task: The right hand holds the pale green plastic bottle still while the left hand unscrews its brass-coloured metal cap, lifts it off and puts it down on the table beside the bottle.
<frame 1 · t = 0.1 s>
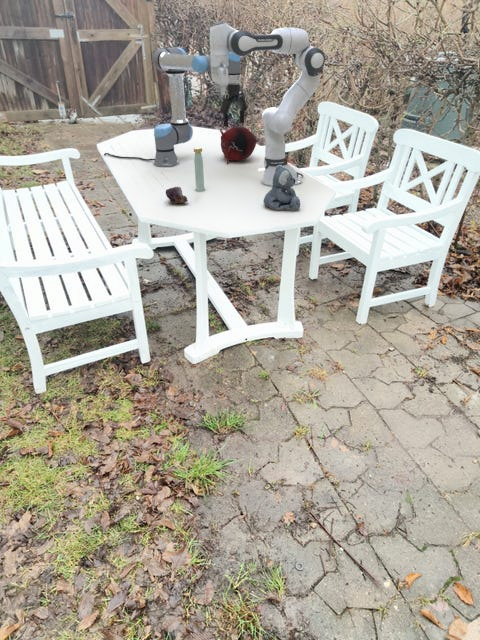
left hand: (234, 124, 259), 28 cm above the table, tool pointing down, fingers open, 13 cm apart
right hand: (220, 93, 227), 48 cm above the table, tool pointing down, fingers open, 8 cm apart
bottle: (200, 189, 251), on the table
rock: (176, 202, 234), on the table
cap: (197, 148, 238), point 22 cm above the table, screwed on, not yet turned
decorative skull: (237, 159, 303), on the table
koala plush: (280, 206, 229), on the table
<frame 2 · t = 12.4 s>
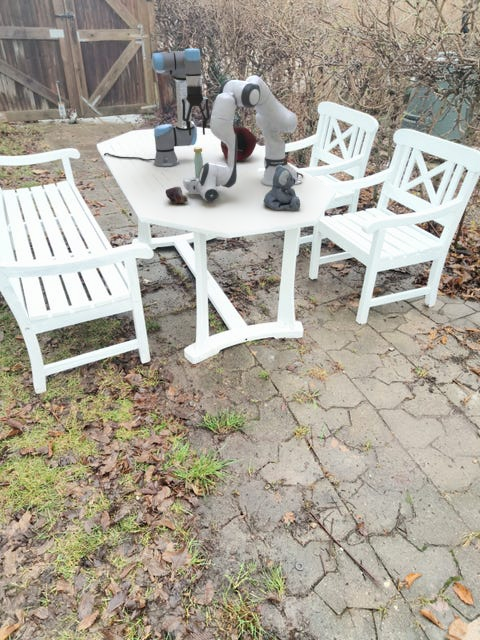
left hand: (197, 134, 234), 29 cm above the table, tool pointing down, fingers open, 6 cm apart
right hand: (199, 178, 248), 6 cm above the table, tool horizontal, fingers closed on bottle, 4 cm apart
bottle: (200, 189, 251), on the table, touching right hand
everything else where it was.
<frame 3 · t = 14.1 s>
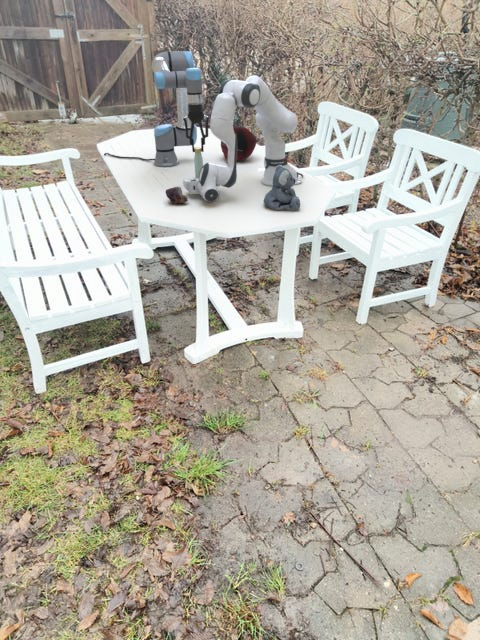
left hand: (198, 151, 239), 21 cm above the table, tool pointing down, fingers closed on cap, 4 cm apart
right hand: (199, 178, 248), 6 cm above the table, tool horizontal, fingers closed on bottle, 4 cm apart
bottle: (200, 189, 251), on the table, touching right hand
cap: (197, 148, 238), point 22 cm above the table, screwed on, not yet turned, touching left hand
everything else where it was.
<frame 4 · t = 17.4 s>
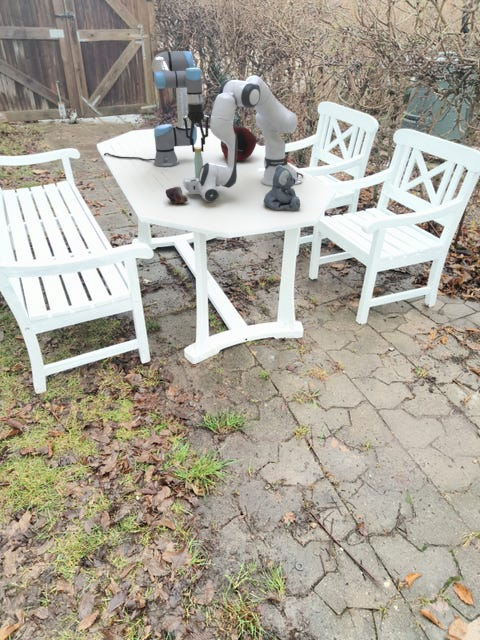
left hand: (197, 151, 239), 21 cm above the table, tool pointing down, fingers closed on cap, 4 cm apart
right hand: (199, 178, 248), 6 cm above the table, tool horizontal, fingers closed on bottle, 4 cm apart
bottle: (200, 189, 251), on the table, touching right hand
cap: (197, 148, 238), point 22 cm above the table, turned 102° so far, risen 0.1 cm, still on its thread, touching left hand
everything else where it was.
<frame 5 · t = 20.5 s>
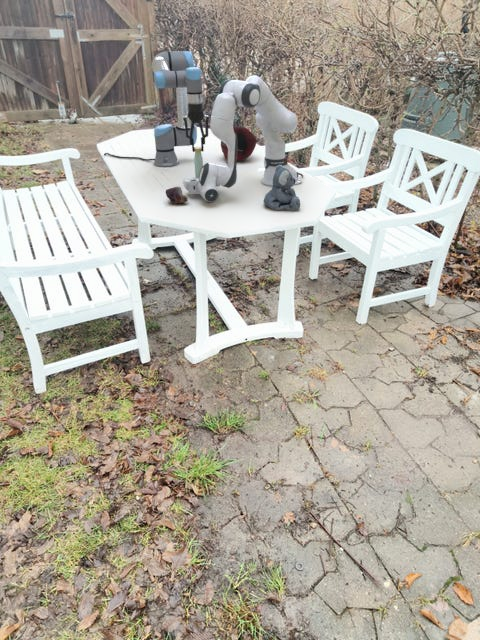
left hand: (197, 150, 239), 21 cm above the table, tool pointing down, fingers closed on cap, 4 cm apart
right hand: (199, 178, 248), 6 cm above the table, tool horizontal, fingers closed on bottle, 4 cm apart
bottle: (200, 189, 251), on the table, touching right hand
cap: (197, 148, 238), point 22 cm above the table, turned 204° so far, risen 0.2 cm, still on its thread, touching left hand
everything else where it was.
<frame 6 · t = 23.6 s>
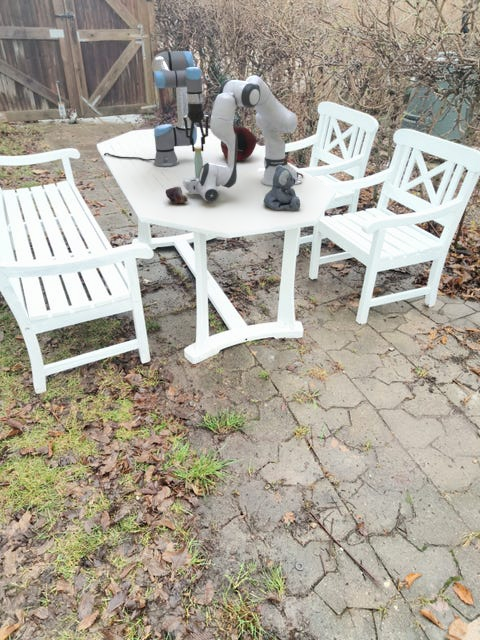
left hand: (197, 150, 239), 21 cm above the table, tool pointing down, fingers closed on cap, 4 cm apart
right hand: (199, 178, 248), 6 cm above the table, tool horizontal, fingers closed on bottle, 4 cm apart
bottle: (200, 189, 251), on the table, touching right hand
cap: (197, 148, 238), point 22 cm above the table, turned 306° so far, risen 0.3 cm, still on its thread, touching left hand
everything else where it was.
when the left hand's fingers open (2 cm above the table, at t = 30.1 s): cap drops 2 cm, point 1 cm above the table.
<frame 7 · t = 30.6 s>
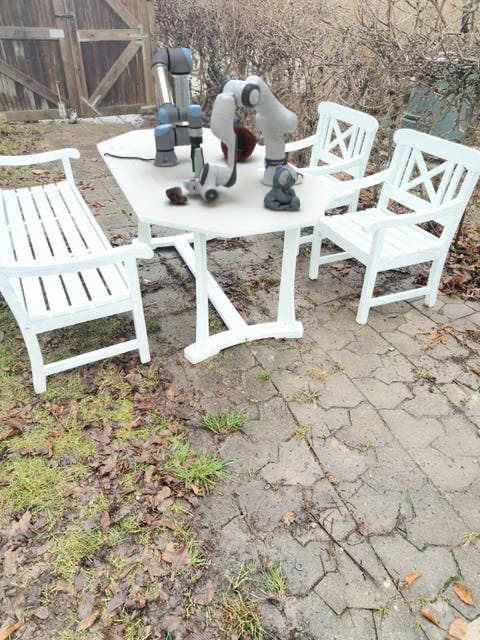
left hand: (198, 174, 264), 3 cm above the table, tool pointing down, fingers open, 11 cm apart
right hand: (199, 178, 248), 6 cm above the table, tool horizontal, fingers closed on bottle, 4 cm apart
bottle: (200, 189, 251), on the table, touching right hand
cap: (198, 177, 265), point 1 cm above the table, off its thread
everything else where it was.
when the right hand's fingers open (6 cm above the table, at t = 31.4 s): bottle stays where it is, on the table.
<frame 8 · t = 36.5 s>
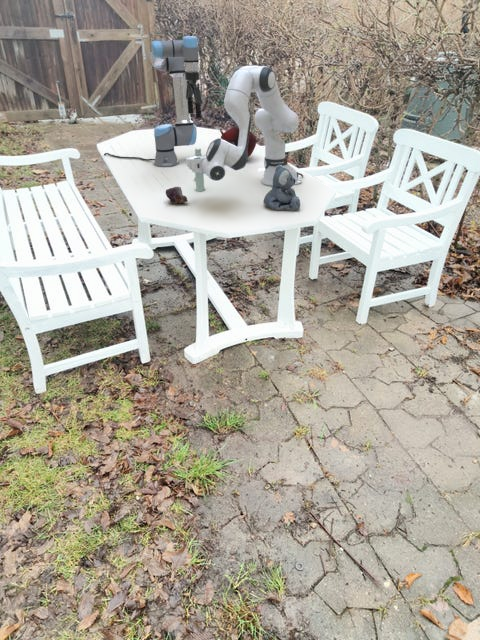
left hand: (194, 115, 245), 35 cm above the table, tool pointing down, fingers open, 13 cm apart
right hand: (203, 157, 228), 21 cm above the table, tool horizontal, fingers open, 8 cm apart
bottle: (200, 189, 251), on the table
everything else where it was.
at the end: cap came off its thread; cap point 1.3 cm above the table; the left hand is holding nothing; the right hand is holding nothing; bottle tilted 0°; bottle moved 0.0 cm from its start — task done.
